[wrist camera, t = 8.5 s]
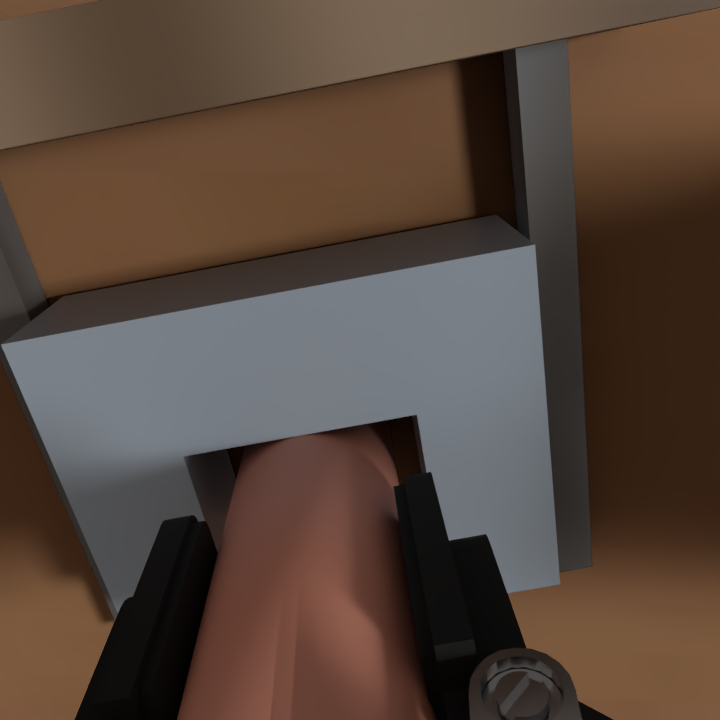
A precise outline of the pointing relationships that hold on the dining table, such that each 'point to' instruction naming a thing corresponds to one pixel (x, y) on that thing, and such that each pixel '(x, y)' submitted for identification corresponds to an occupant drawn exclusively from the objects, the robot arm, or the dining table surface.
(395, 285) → the block
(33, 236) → the dining table surface
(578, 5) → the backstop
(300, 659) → the dowel
